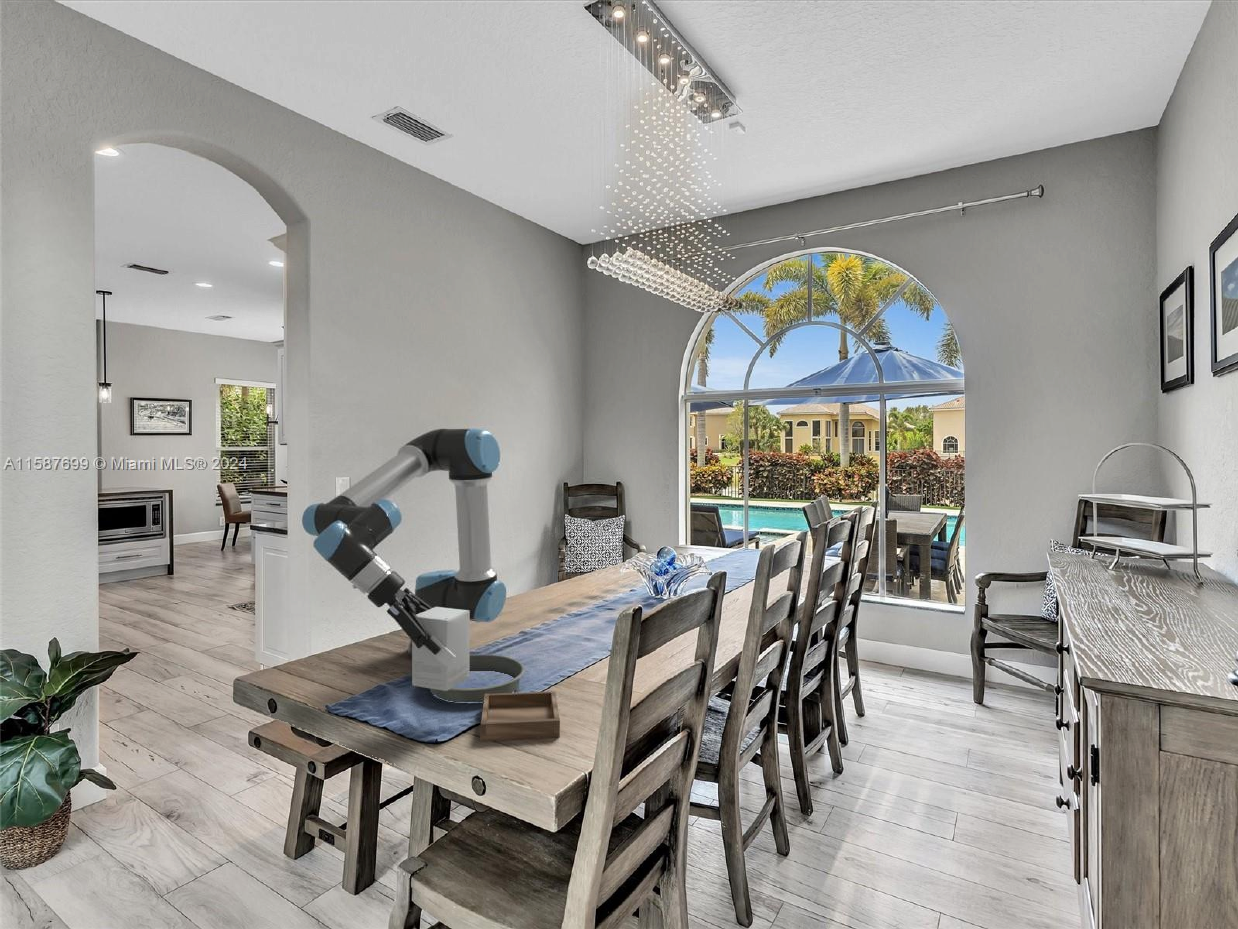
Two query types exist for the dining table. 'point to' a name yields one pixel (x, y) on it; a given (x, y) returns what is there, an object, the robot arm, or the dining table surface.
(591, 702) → the dining table surface
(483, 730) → the walnut tray
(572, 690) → the dining table surface
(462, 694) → the cake pan
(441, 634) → the supplement box
